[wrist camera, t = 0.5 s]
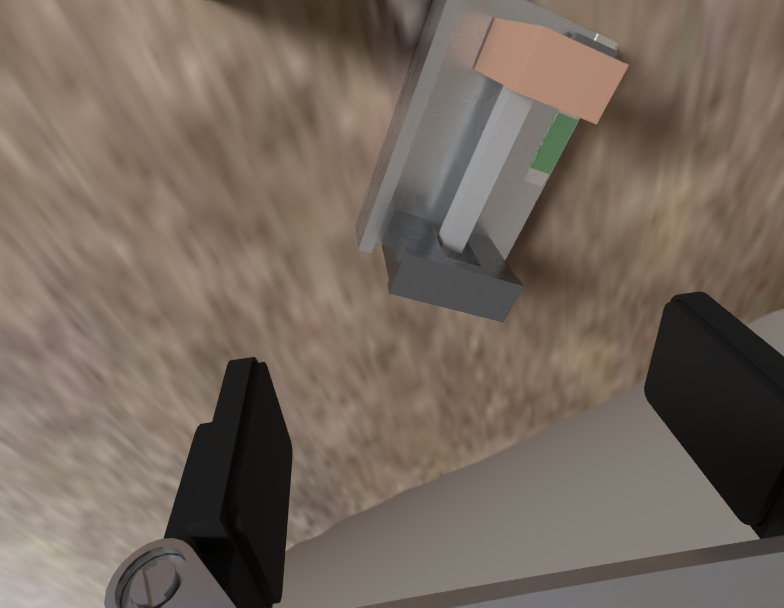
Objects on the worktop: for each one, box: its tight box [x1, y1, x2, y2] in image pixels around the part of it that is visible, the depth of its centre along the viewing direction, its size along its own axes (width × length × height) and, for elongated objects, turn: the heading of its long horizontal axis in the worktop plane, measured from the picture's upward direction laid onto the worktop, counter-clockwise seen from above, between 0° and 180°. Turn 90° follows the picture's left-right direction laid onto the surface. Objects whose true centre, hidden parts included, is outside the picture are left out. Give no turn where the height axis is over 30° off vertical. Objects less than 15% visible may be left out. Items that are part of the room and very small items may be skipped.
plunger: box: [437, 18, 629, 253], centre depth 31 cm, size 15×8×8 cm, turn 160°
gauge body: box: [355, 0, 619, 322], centre depth 32 cm, size 18×12×10 cm, turn 160°
